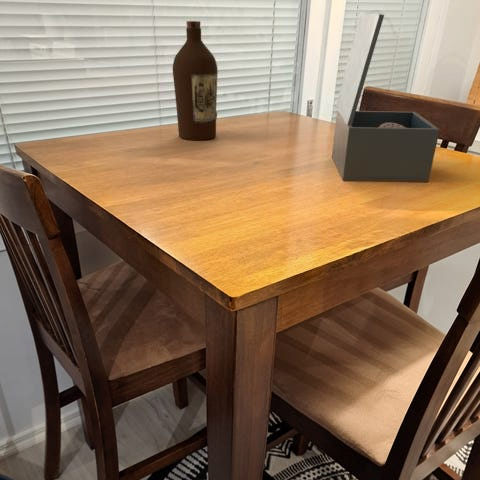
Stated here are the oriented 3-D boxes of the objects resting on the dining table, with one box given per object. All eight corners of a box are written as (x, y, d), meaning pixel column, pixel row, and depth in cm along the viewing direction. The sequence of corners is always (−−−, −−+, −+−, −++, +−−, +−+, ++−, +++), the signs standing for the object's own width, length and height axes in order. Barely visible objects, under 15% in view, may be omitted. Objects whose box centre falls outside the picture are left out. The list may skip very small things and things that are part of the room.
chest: (406, 158, 110) (415, 111, 105) (428, 182, 96) (440, 129, 91) (331, 157, 110) (336, 110, 105) (342, 180, 96) (349, 127, 91)
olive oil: (168, 134, 126) (161, 20, 113) (202, 129, 132) (199, 19, 118) (191, 143, 119) (186, 22, 106) (226, 137, 125) (226, 21, 111)
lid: (365, 12, 95) (361, 11, 95) (384, 15, 81) (379, 14, 81) (338, 108, 105) (335, 107, 105) (351, 125, 91) (347, 124, 91)
